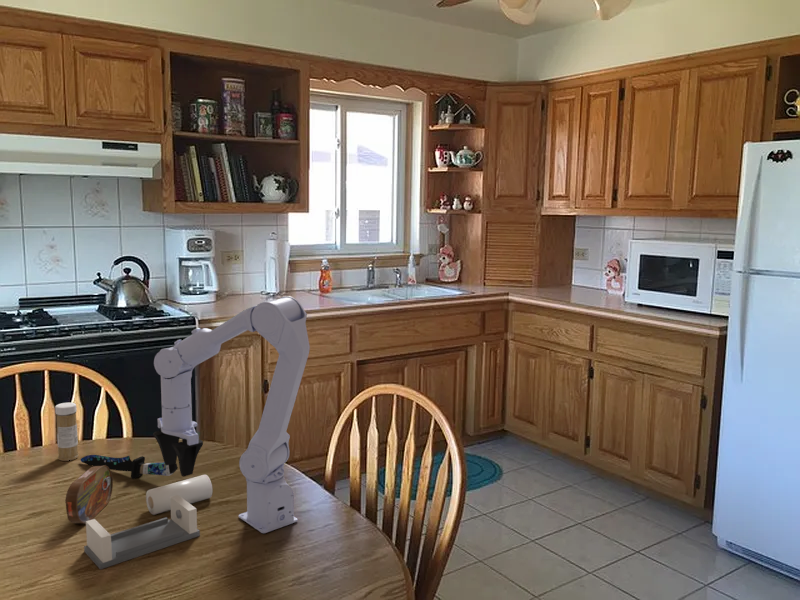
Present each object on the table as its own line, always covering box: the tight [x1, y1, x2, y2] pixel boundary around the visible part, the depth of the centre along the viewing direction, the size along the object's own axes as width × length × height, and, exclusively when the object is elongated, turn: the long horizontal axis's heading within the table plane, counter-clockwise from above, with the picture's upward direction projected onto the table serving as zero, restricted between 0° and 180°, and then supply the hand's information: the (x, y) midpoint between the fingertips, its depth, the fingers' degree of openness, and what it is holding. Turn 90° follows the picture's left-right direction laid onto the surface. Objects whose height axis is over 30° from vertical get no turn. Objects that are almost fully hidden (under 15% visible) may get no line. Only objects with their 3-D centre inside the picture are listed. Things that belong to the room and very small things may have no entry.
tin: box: [64, 465, 114, 525], centre depth 134 cm, size 15×3×8 cm, turn 179°
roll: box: [145, 474, 213, 516], centre depth 139 cm, size 5×12×5 cm, turn 133°
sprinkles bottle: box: [54, 401, 80, 462], centre depth 163 cm, size 5×5×14 cm
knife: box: [80, 454, 179, 480], centre depth 154 cm, size 31×3×4 cm, turn 61°
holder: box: [83, 495, 201, 570], centre depth 123 cm, size 8×18×6 cm, turn 133°
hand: (178, 469), depth 138 cm, fingers open, 7 cm apart
